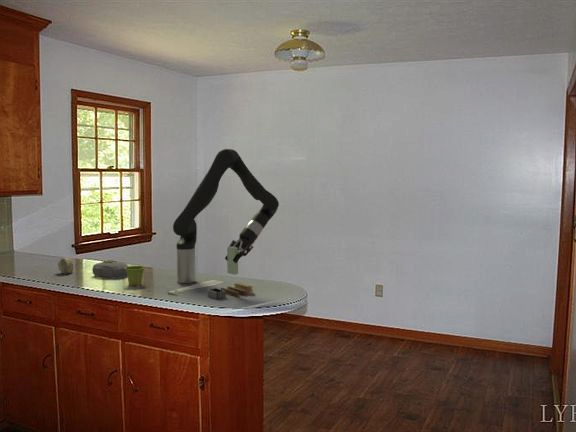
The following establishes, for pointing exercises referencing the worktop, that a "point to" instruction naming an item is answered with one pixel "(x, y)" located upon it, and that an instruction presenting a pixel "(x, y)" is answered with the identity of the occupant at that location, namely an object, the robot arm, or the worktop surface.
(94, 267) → the small grey backpack
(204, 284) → the baseboard molding
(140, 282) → the plant pot
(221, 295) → the grey holder
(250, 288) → the pine offcut top
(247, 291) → the pine offcut low
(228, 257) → the green board
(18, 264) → the worktop surface
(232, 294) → the walnut rack
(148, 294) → the worktop surface
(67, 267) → the garlic bulb
